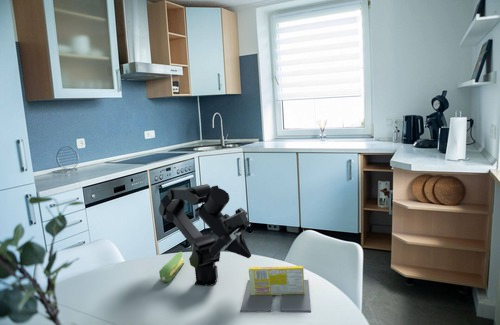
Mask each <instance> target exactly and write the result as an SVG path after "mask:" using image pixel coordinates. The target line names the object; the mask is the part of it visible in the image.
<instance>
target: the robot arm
mask: <svg viewBox="0 0 500 325" xmlns="http://www.w3.org/2000/svg"><path fill="white" fill-rule="evenodd" d="M185 201H187V204H189V205H192V206H196V205H200V206H198V207H196V208H195V209H194V212H195V213H194V216H195V218H196V219H198V218H200V219H201V220H202V221H203V222H204V223H205V224H206V226H207V227H209V229H208V232H209V233H212V232H213V233H214V234H215V235H216V236H217V237H218V238H217V239H214V238H213V236H212V235H211V234H205V235H203V234H202V233H201V231H200V230H199V229H198V228H197V227H196V225H195V224H194V223H193V222H192V221H191V220H190V218H189V217H188V216H187V215H186V213H185V212H184V211H185V205H186V202H185ZM229 201H230V195H229V192H227V191H226V190H224V189H222V188H220V186H219V185H212V186H210V185H209V184H208V183H206V184H200V185H195V186H192V187H182V186H176V187H171V188H169V189H167V191H166V194H165V195H164V197H163V198H162V199H161V200H160V203H159V207H158V212H159V215H160V216H161V217H162V218H163V219H164V220H165V221H166V222H171V223H173V224H174V225H175V226H176V228H177V229H178V230H179V231H180V233H181V235H182V236H183V237H184V238H185V239H186V240H187V242H188V243H189V244H190V246H192V248H191V249H192V250H191V254H190V257H189V258H188V260H189V264H190V266H191V267H193V268H194V271H195V272H194V273H195V282H194V285H195V286H215V284H216V282H217V280H218V278H219V272H218V266H217V265H216V263H218V262H219V263H220V258H221V252H222V250H223V251H224V252H226V251H227V252H230V253H233V254H236V255H239V256H242V257H244V258H246V259H250V258H251V257H252V253H251V251H250V249H249V247H248V245H247V243H246V240H245V233H246V231H245V230H246V229H247V228H248V227H249V226H250V225H251V222H250V221H249V218H248V216H247V215H248V212H247V211H246V210H245V209H243V208H242V207H239V208H238V209H237V208H236V210H235V211H234V214H233V215H229V214H227V213H225V214H224V213H222V212H223V210H224V208H225V207H226V205H228V203H229ZM224 247H225V248H224ZM223 248H224V249H223Z"/></svg>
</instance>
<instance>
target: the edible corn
mask: <svg viewBox="0 0 500 325" xmlns="http://www.w3.org/2000/svg"><path fill="white" fill-rule="evenodd" d="M184 264H185V262H184V259H183V252H182V251H179V252H177V253H176V254H175V255H174V256H173V257H172V258H171V259H170V260H169V261H168V262H167V263H166V264H165V265H164V266H162V268H160V270H159V278H160V280H161V282H163V283H170V282H171V281H172V280H173V279H174V277H175V276H176V275H177V273H178V272H179V271H180V269H181V267H182V266H183V265H184Z"/></svg>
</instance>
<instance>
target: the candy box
mask: <svg viewBox="0 0 500 325" xmlns="http://www.w3.org/2000/svg"><path fill="white" fill-rule="evenodd" d="M304 273H305V272H304V266H303V265H294V266H293V265H292V266H291V265H290V266H289V265H287V266H285V265H284V266H257V267H251V266H250V267H249V268H248V277H249V279H248V280H250V294H251V295H273V296H275V295H277V296H278V295H279V296H280V295H281V296H282V295H288V294H305V289H304V280H305V278H304V277H305V276H304V275H305V274H304Z"/></svg>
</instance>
